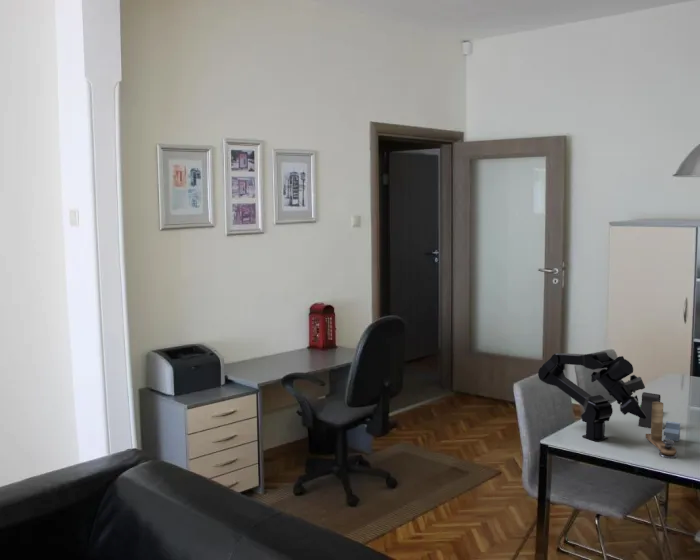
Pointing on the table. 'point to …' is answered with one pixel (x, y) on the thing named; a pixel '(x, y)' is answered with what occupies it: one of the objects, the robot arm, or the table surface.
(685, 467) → the table surface
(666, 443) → the pin stand
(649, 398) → the phone stand
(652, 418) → the swing link
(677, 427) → the bracket
